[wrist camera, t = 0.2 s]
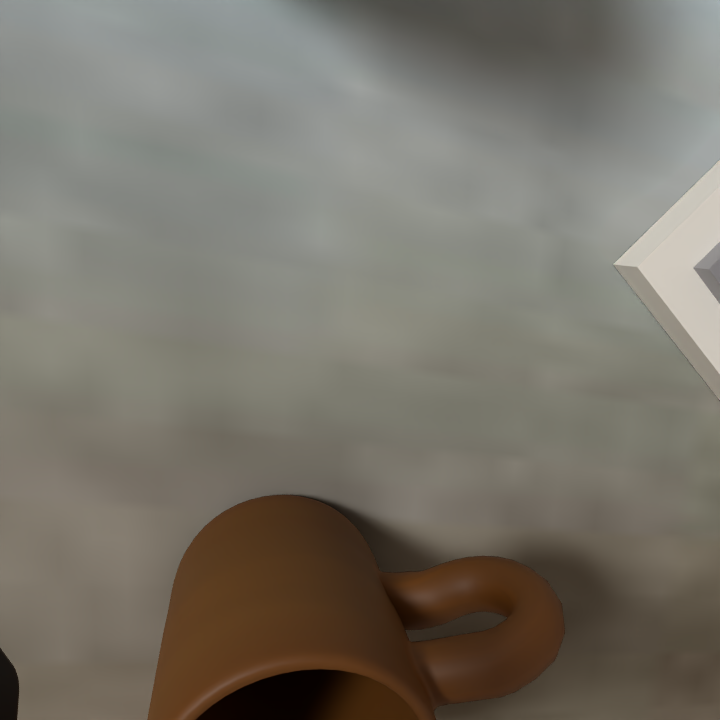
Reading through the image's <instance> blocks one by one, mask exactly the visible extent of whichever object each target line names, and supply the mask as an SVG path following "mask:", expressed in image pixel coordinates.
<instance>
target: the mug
mask: <svg viewBox="0 0 720 720" xmlns="http://www.w3.org/2000/svg"><path fill="white" fill-rule="evenodd" d="M475 612H493V613H497V614H500V615H503V616H505V617H507V619H506V620H505V621H503V622H502V623H500V624H499V625H497V626H496V627H494V628H491V629H488V630H485V631H480V632H474V633H468V634H462V635H456V636H450V637H444V638H438V639H432V640H426V641H416V642H411V641H409V638H408V636H407V634H406V631H405V630H421V629H426V628H431V627H435V626H438V625H442V624H445V623H447V622H450V621H452V620H454V619H457V618H459V617H461V616H464V615H467V614H470V613H475ZM564 634H565V628H564V618H563V610H562V603H561V602H560V600H559V599H558V597H557V595H556V594H555V592H554V591H553V589H552V588H551V586H550V584H549V583H548V581H547V580H545V579H544V578H543V577H541V576H540V575H539V574H538V573H536V572H535V571H534V570H532V569H530V568H529V567H527V566H525V565H523V564H520V563H518V562H516V561H514V560H510V559H505V558H501V557H494V556H474V557H466V558H461V559H456V560H452V561H449V562H446V563H442V564H440V565H437V566H434V567H432V568H429V569H426V570H423V571H407V572H393V573H392V572H381V571H380V570H379V567H378V565H377V563H376V560H375V558H374V556H373V554H372V552H371V550H370V548H369V546H368V544H367V542H366V540H365V539H364V537H363V536H362V535H361V533H360V532H359V530H358V529H357V528H356V527H355V526H354V525H353V524H352V523H351V522H350V521H349V520H348V519H347V518H346V517H345V516H343V515H342V514H341V513H340V512H338V511H337V510H335V509H334V508H332V507H330V506H328V505H326V504H324V503H322V502H319V501H317V500H314V499H310V498H306V497H302V496H294V495H272V496H264V497H259V498H255V499H251V500H248V501H245V502H243V503H240V504H237V505H235V506H233V507H231V508H230V509H228V510H226V511H224V512H223V513H221V514H220V515H218V516H217V517H215V518H214V519H213V520H212V521H211V522H209V523H208V524H207V525H206V526H205V527H204V528H203V529H202V530H201V531H200V532H199V533H198V535H197V536H196V537H195V538H194V540H193V541H192V543H191V544H190V546H189V547H188V549H187V550H186V552H185V554H184V556H183V558H182V560H181V562H180V565H179V568H178V571H177V573H176V577H175V580H174V584H173V588H172V593H171V599H170V604H169V610H168V614H167V619H166V623H165V628H164V633H163V638H162V643H161V649H160V654H159V660H158V665H157V670H156V676H155V681H154V687H153V692H152V698H151V703H150V708H149V714H148V719H147V720H436V718H435V715H434V710H435V709H436V708H437V707H439V706H443V705H447V704H454V703H463V702H470V701H477V700H484V699H491V698H499V697H503V696H505V695H508V694H511V693H514V692H516V691H517V690H519V689H521V688H522V687H524V686H525V685H527V684H528V683H530V682H532V681H533V680H535V679H536V678H537V677H538V676H539V675H540V674H541V673H542V672H543V671H544V670H545V669H546V668H547V667H548V666H549V665H550V664H551V663H552V662H553V661H555V659H556V656H557V654H558V651H559V649H560V646H561V643H562V640H563V637H564Z"/></svg>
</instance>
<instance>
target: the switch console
mask: <svg viewBox="0 0 720 720" xmlns="http://www.w3.org/2000/svg"><path fill="white" fill-rule="evenodd" d="M613 265H614V266H615V267H616V269H617V270H618V271H619V273H620V274H621V275H622V276H623V278H624V279H625V280H626V281H627V283H628V284H629V285H630V287H631V288H632V289H633V290H634V292H635V293H636V294H637V295H638V297H639V298H640V299H641V301H642V302H643V303H644V304H645V306H646V307H647V308H648V310H649V311H650V312H651V313H652V315H653V316H654V317H655V318H656V320H657V321H658V322H659V324H660V325H661V326H662V327H663V329H664V330H665V331H666V333H667V334H668V335H669V336H670V338H671V339H672V340H673V341H674V343H675V344H676V345H677V347H678V348H679V349H680V350H681V352H682V353H683V354H684V356H685V357H686V358H687V359H688V361H689V362H690V363H691V364H692V366H693V367H694V368H695V370H696V371H697V372H698V373H699V375H700V376H701V377H702V379H703V380H704V381H705V382H706V384H707V385H708V386H709V387H710V389H711V390H712V391H713V393H714V394H715V395H716V396H717V398H718V399H719V400H720V160H719V161H718V162H717V163H716V164H715V165H714V166H713V167H712V168H711V169H710V170H709V171H708V172H707V173H706V174H705V175H704V176H703V177H702V178H701V179H700V180H699V181H698V182H697V183H696V184H695V185H694V186H693V187H692V188H690V189H689V190H688V191H687V192H686V193H685V194H684V195H683V196H682V197H681V198H680V199H679V200H678V201H677V202H676V203H675V204H674V205H673V206H672V207H671V208H670V209H669V210H668V211H667V212H666V213H665V214H664V215H663V216H662V217H661V218H660V219H659V220H658V221H657V222H656V223H655V224H654V225H653V226H652V227H651V228H650V229H649V230H648V231H647V232H646V233H645V234H644V235H643V236H642V237H641V238H640V239H639V240H638V241H637V242H636V243H634V244H633V245H632V246H631V247H630V248H629V249H628V250H627V251H626V252H625V253H624V254H623V255H622V256H621V257H620V258H619V259H618V260H617V261H616V262H615V263H614V264H613Z"/></svg>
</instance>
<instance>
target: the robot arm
mask: <svg viewBox="0 0 720 720" xmlns="http://www.w3.org/2000/svg"><path fill="white" fill-rule="evenodd" d="M18 699H19V681H18V676H17V673H16V670H15V668H14V666H13V665H12V663H11V662H10V660H9V659H8V658H7V656H6V655H5V654H4V652H3V651H2V650H1V648H0V720H17V714H18Z"/></svg>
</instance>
